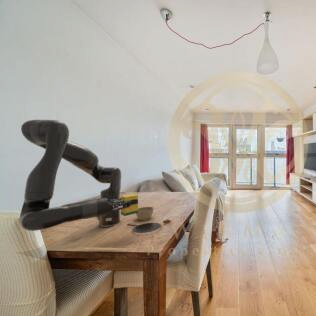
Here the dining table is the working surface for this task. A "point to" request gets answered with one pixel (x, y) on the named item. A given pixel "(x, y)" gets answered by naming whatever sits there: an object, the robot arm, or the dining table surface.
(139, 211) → the beige bowl
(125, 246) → the dining table surface
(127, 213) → the sponge
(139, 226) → the pan
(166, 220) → the brown small block
